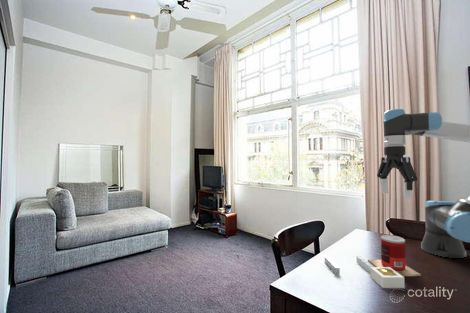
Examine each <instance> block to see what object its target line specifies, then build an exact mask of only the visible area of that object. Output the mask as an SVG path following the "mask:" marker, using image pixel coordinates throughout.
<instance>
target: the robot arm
mask: <svg viewBox="0 0 470 313" xmlns="http://www.w3.org/2000/svg"><path fill="white" fill-rule="evenodd" d="M442 117H443V116H442V115H441V114H440V113H439V112H435V111H433V112H430V111H429V112H419V113H406V111H405V109H403V108H394V109H389V110H386V111H384V112H383V121H382V123H383V137H384V138H383V145H384V147H383V152H384V153H383V154H384V156H385V157H383V156H382V157H381V159H380V160H381V161H380V164H379V168H378V171H377V174H376V176H377V178H379V179H380V189H381V190H380V191H381V192H380V193H381V194H389V179H388V176H389V175H390V173H391V171H392V170H393V169H397V170H398V172H399V173H400V175H401V176H402V178H403V180H404V181H403V198H404V199H413V189H414V188H413V186H414V185H413V182H415V181H418V177H417V174H416V172H415V170H414V168H413V165H412V163H411V162H412V161H411V157H410V156H406V146H405V145H406V136H411V135H412V136H418V137H426V138H427V137H429V138H435V139H443V140H450V141H455V142H456V141H457V142H463V143H470V124H468V123H458V122H457V123H456V122H450V121H449V122H448V121H443V119H442ZM424 210H425V212H424V213H425V214H424V215H425V217H424V218H425V233H424V235H423V238H422V241H421V242H420V249H421V250H422V251H424V252H426V253H428V254H430V253H431V255H433V254H434V256H436V255H438V256H437V257H440V256H442V257H441V258H445V257H449V258H448V259H451V258H463V257H466V258H467V250H466V249H465V246H464V243H463V242H465V243H470V195H469V196H468V197H467V198H465V199H464V198H463V199H457V201H445V200H427V201H426V202H425V207H424Z"/></svg>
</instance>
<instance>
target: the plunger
mask: <svg viewBox="0 0 470 313" xmlns="http://www.w3.org/2000/svg"><path fill="white" fill-rule="evenodd" d="M380 273H382V274H383V275H394V272H393V271H392V270H391V269H388V268H380Z"/></svg>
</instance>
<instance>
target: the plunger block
mask: <svg viewBox="0 0 470 313" xmlns="http://www.w3.org/2000/svg"><path fill="white" fill-rule="evenodd" d="M380 268H388V269H391V270H392V271H393V272H394V275H383V274H382V273H380ZM369 275H370V276H369V277H370V278H371V279H372V280H373V281H374V282H375V283H377V284H378V285H379V286H380V287H381V288H382V289H405V276H402V275H400V274H399V273H397V272H396V271H395V270H393V269H392V268H390V267H375V266H373V267H370V273H369Z"/></svg>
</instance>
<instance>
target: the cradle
mask: <svg viewBox="0 0 470 313" xmlns="http://www.w3.org/2000/svg"><path fill="white" fill-rule="evenodd" d="M324 263H325V265H326V266H327V267H328V269H330V270H331V271H332V272H333V274H334V275H335V276H341V275H340V273H341V271H340V269H341V268H340V267H339V265H338V264H336V262H334V261H333V259H332V258H330V256H329V255H328V256H327V255H324ZM356 263H357V264H358V265H359V266H360V267H362V269H364V270H365V271H366V272H367V273H369V274H370V267H374V265H372V264H371V263H370V262H368V260H366V259H365V258H363V257H362V256H360V255H356Z"/></svg>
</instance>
